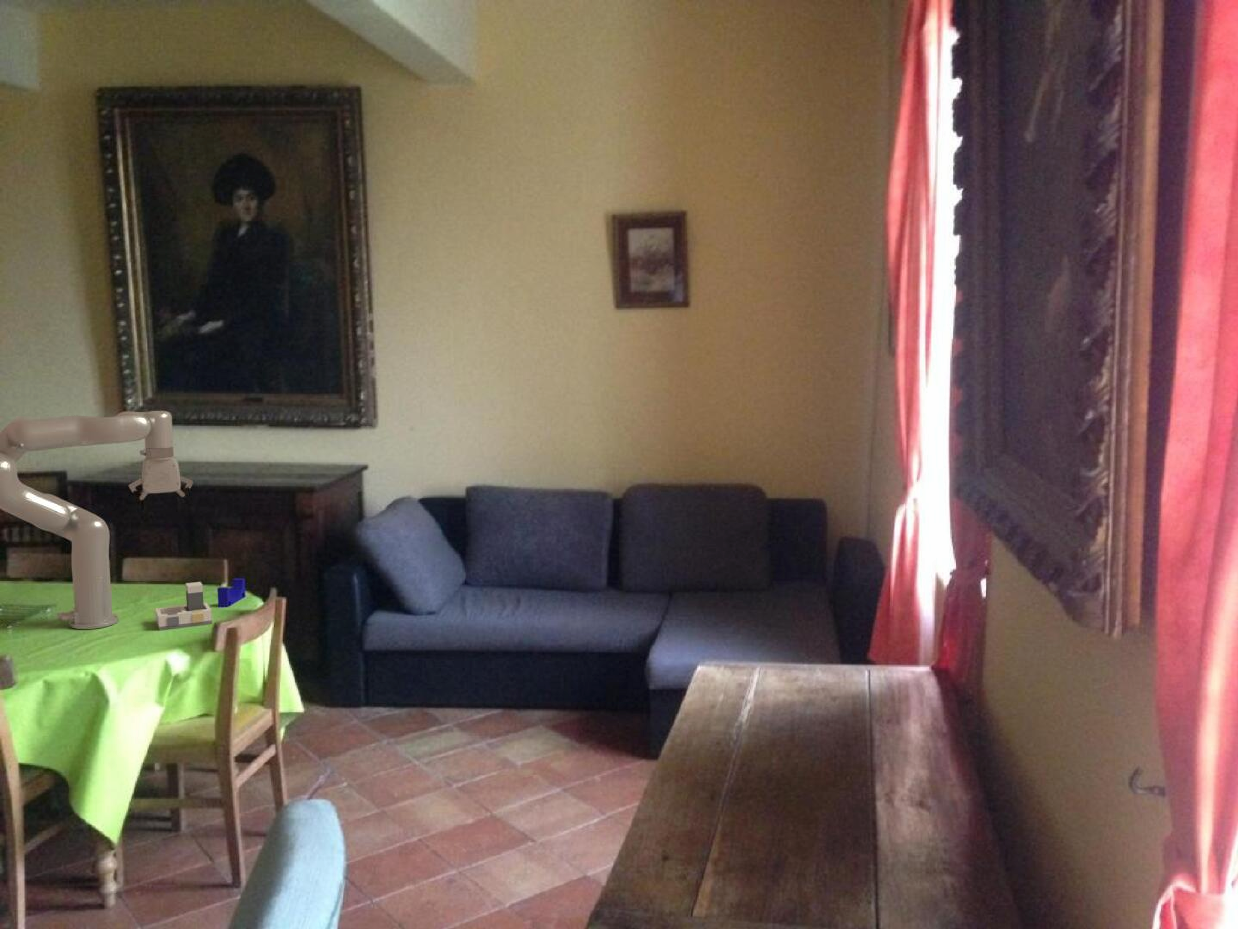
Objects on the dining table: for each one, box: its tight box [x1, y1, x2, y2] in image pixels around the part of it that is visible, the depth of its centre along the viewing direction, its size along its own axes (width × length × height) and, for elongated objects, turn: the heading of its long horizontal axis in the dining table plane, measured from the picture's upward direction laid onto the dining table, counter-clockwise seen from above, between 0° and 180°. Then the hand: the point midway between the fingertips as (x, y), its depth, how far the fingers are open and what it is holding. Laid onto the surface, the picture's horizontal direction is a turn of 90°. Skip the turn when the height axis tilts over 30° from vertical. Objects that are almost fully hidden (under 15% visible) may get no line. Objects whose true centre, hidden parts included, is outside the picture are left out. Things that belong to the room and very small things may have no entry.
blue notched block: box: [217, 577, 246, 608], centre depth 327 cm, size 12×4×6 cm, turn 174°
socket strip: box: [154, 602, 213, 631], centre depth 304 cm, size 14×9×4 cm, turn 119°
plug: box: [185, 581, 205, 611], centre depth 306 cm, size 4×4×10 cm
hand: (162, 511), depth 312 cm, fingers open, 9 cm apart
